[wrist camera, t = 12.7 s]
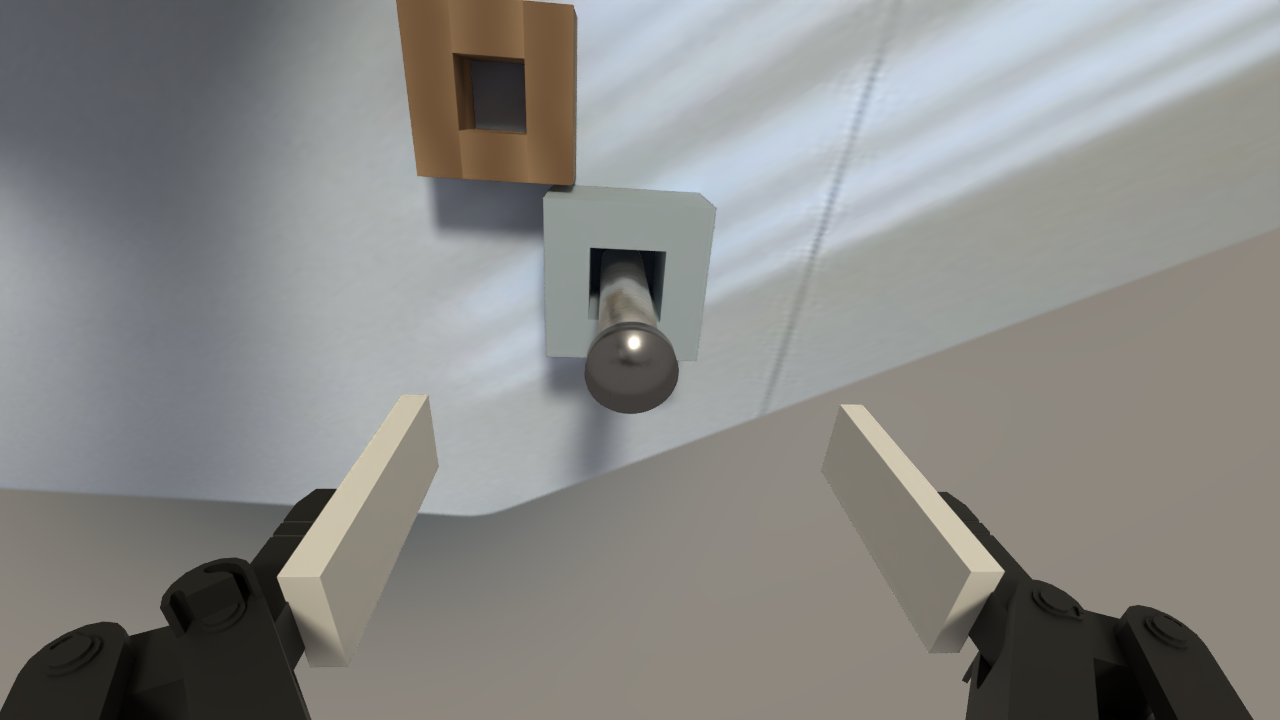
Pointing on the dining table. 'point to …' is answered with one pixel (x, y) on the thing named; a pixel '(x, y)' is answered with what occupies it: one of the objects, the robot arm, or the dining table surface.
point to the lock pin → (628, 341)
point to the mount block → (443, 94)
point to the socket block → (633, 224)
